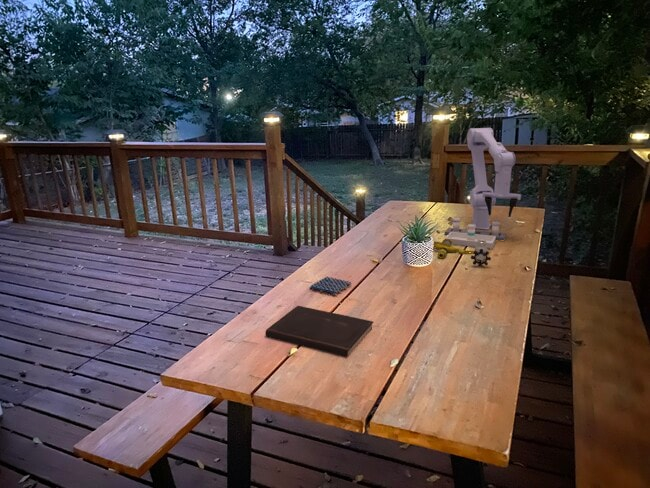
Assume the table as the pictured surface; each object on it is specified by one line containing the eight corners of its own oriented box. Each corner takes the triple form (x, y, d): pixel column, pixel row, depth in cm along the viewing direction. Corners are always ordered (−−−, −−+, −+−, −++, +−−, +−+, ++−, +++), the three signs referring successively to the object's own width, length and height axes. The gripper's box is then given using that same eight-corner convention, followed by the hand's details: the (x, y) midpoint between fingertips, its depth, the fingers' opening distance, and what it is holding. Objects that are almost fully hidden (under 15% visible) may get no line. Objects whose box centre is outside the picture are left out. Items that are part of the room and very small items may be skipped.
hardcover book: (298, 312, 129) (297, 305, 128) (373, 329, 118) (373, 321, 118) (265, 338, 115) (264, 330, 115) (347, 359, 105) (347, 350, 104)
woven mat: (353, 286, 145) (353, 281, 145) (335, 298, 137) (335, 292, 136) (326, 280, 151) (326, 275, 150) (307, 291, 142) (307, 285, 142)
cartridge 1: (452, 232, 198) (453, 217, 196) (459, 233, 197) (460, 217, 194) (451, 234, 195) (452, 218, 193) (458, 235, 194) (459, 219, 192)
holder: (448, 230, 201) (448, 227, 200) (505, 236, 190) (506, 233, 190) (444, 235, 195) (444, 231, 194) (503, 241, 184) (504, 237, 184)
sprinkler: (419, 245, 168) (427, 233, 181) (418, 255, 169) (426, 242, 182) (473, 257, 161) (477, 244, 174) (471, 268, 163) (475, 253, 176)
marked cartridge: (467, 240, 185) (468, 223, 183) (475, 241, 184) (476, 224, 182) (466, 242, 183) (467, 225, 181) (473, 243, 181) (475, 226, 179)
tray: (450, 237, 191) (450, 231, 191) (495, 242, 183) (495, 236, 183) (445, 244, 183) (445, 238, 182) (492, 249, 175) (492, 243, 174)
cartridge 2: (491, 236, 191) (492, 220, 189) (499, 237, 190) (500, 221, 187) (490, 238, 188) (491, 222, 186) (498, 239, 187) (499, 222, 185)
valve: (470, 255, 169) (470, 266, 159) (472, 238, 167) (471, 248, 157) (489, 256, 167) (490, 268, 156) (491, 239, 165) (491, 250, 154)
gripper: (482, 183, 182) (479, 216, 186) (521, 185, 176) (517, 219, 180) (484, 180, 188) (482, 212, 192) (522, 182, 182) (519, 215, 186)
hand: (499, 215), depth 187 cm, fingers open, 7 cm apart
